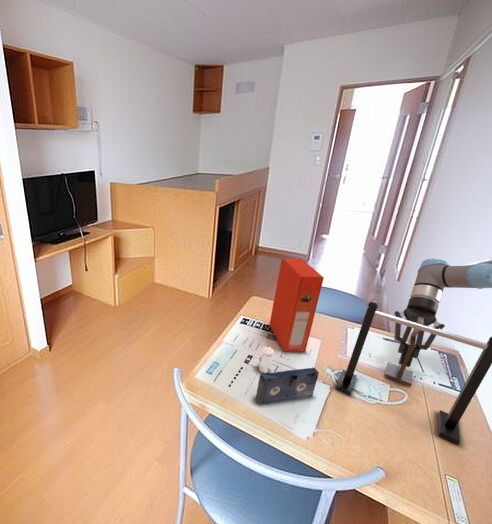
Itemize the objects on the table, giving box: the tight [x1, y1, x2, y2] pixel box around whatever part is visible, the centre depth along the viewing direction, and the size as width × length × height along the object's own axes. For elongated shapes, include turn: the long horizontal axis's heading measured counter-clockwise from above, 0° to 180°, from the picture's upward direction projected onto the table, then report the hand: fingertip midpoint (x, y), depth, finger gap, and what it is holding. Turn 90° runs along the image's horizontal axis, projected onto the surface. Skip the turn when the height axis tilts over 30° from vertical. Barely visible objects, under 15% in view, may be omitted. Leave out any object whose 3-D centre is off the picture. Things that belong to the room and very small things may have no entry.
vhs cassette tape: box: [255, 367, 320, 405], centre depth 94 cm, size 18×3×10 cm, turn 98°
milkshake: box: [258, 342, 275, 374], centre depth 106 cm, size 4×5×10 cm
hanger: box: [384, 317, 424, 387], centre depth 100 cm, size 7×8×22 cm
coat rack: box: [335, 301, 492, 446], centre depth 88 cm, size 29×10×32 cm, turn 48°
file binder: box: [268, 257, 325, 353], centre depth 118 cm, size 8×17×32 cm, turn 177°
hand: (404, 364), depth 99 cm, fingers closed on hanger
